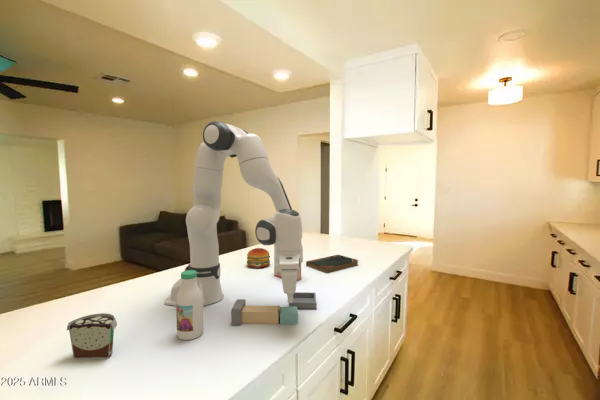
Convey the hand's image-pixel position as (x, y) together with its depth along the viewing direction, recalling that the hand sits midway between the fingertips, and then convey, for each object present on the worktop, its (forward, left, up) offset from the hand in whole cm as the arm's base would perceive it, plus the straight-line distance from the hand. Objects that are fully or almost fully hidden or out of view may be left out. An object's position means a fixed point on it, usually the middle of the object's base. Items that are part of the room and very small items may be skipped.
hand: (291, 296), depth 101 cm
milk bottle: (-31, -10, -9) cm, 34 cm away
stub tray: (+4, +14, -8) cm, 16 cm away
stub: (-1, 0, -9) cm, 9 cm away
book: (+20, +66, -9) cm, 69 cm away
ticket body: (-12, 0, -8) cm, 15 cm away
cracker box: (-4, +45, -9) cm, 46 cm away
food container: (-53, -20, -9) cm, 58 cm away
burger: (-22, +65, -9) cm, 69 cm away
